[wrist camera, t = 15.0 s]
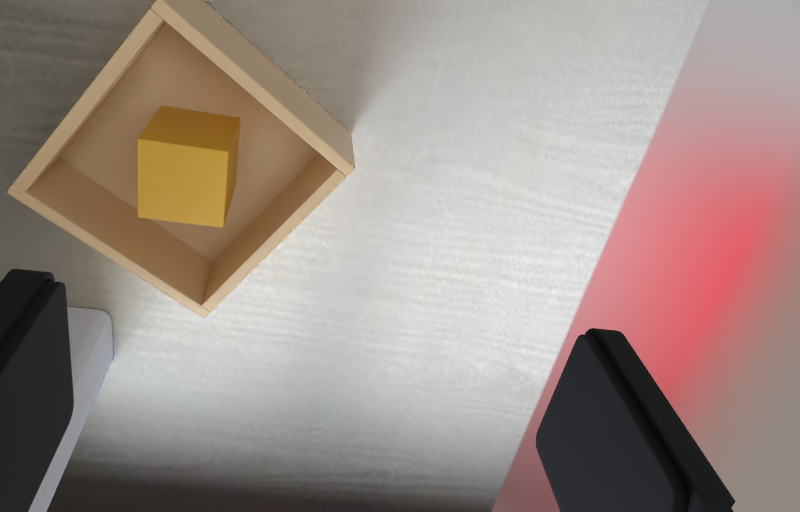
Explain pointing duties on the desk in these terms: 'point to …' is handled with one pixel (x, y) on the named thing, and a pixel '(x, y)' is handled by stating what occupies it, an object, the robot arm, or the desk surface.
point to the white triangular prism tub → (79, 387)
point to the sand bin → (199, 91)
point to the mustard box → (187, 166)
